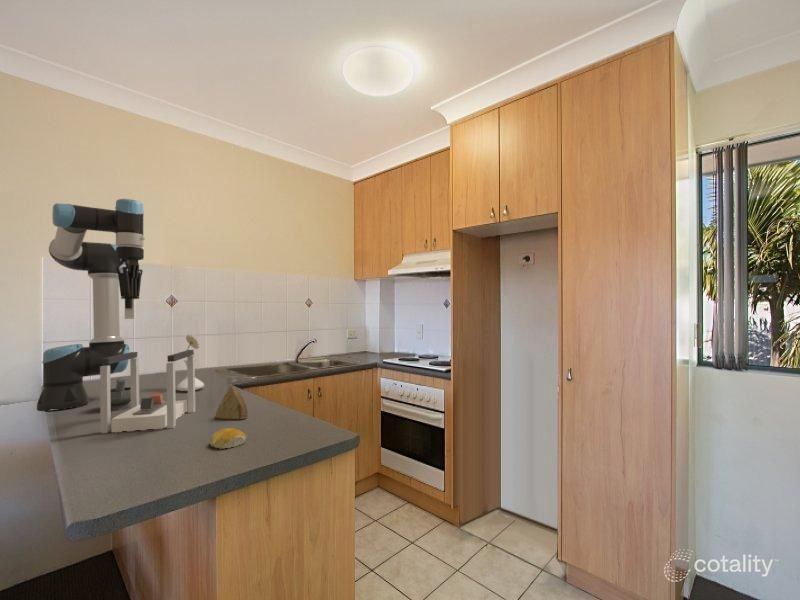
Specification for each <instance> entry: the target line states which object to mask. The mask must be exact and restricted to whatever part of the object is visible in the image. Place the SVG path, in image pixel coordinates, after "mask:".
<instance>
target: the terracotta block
mask: <svg viewBox="0 0 800 600" xmlns="http://www.w3.org/2000/svg"><path fill="white" fill-rule="evenodd" d="M149 398H154V404H162V402H164V399H163V398H164V397H163V392H157V393H155V392H154V393H151V394H150V395H149Z"/></svg>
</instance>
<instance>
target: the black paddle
mask: <svg viewBox="0 0 800 600" xmlns="http://www.w3.org/2000/svg"><path fill="white" fill-rule="evenodd" d="M140 404H141V406H140V409H142V410H143V409H153V404H154V398H150V397H147V398H145V397H143V398H141V400H140Z"/></svg>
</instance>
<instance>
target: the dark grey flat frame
mask: <svg viewBox="0 0 800 600" xmlns="http://www.w3.org/2000/svg"><path fill="white" fill-rule="evenodd" d="M189 356H195V351H194V349H188V350H187V349H186V350H183V351H179V352H177V353H173V354H169V355H167V363H174V362H176V361H179V360H182V359H183V360H184V359H187V357H189ZM132 358H138V351H129V353H125V354H121V355H116V356H112V357H107V358H103V359H102V365H108V364H112V363H116V362H120V361H124V360H128V359H129V360H130V359H132ZM129 360H128V361H129Z"/></svg>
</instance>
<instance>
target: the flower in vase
mask: <svg viewBox="0 0 800 600" xmlns="http://www.w3.org/2000/svg"><path fill="white" fill-rule="evenodd" d="M185 339H186V342H187V343H188V346H187V349H186V350H190V349H189V348H190V347H191V348H192V349H195V350H198V349H199V348H200V343H198V340H197V338H195V337H194V336H193V335H192V334H191V335H190V334H187V335H186V337H185ZM196 361H197V359H196V358H195V362H196ZM183 362H184V363H185V365H186V366H187V358H185V359H183ZM204 387H205V383H204V382H203V381H202V380H200V379H198V378H197V377H195V391H197V390H201V389H203V388H204ZM175 390H177V391H179V392H188V372H186V377H185V378H184V379H183V380H181V381H180V382H179V383H178V384H177V385H175Z"/></svg>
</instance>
